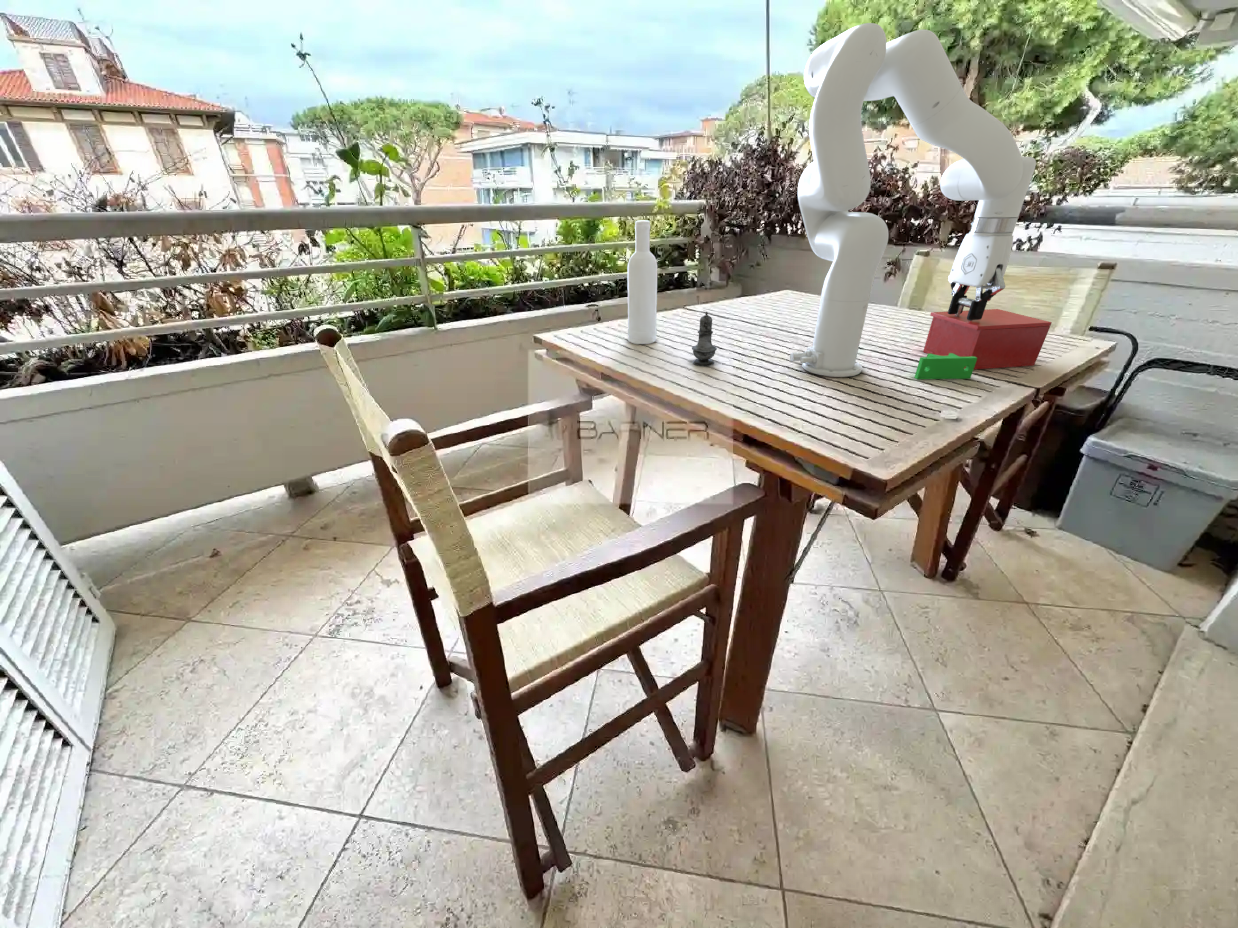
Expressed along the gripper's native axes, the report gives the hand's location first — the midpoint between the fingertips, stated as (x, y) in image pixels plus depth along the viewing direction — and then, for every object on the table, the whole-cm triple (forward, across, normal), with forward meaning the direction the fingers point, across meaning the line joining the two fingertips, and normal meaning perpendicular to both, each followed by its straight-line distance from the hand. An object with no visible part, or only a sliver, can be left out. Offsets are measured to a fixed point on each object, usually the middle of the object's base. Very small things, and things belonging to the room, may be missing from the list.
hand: (964, 315), depth 109 cm
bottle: (+10, -32, -68) cm, 76 cm away
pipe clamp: (+10, +10, -10) cm, 18 cm away
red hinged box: (+10, 0, +7) cm, 12 cm away
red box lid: (+1, 0, +6) cm, 6 cm away
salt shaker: (+10, -9, -57) cm, 59 cm away
